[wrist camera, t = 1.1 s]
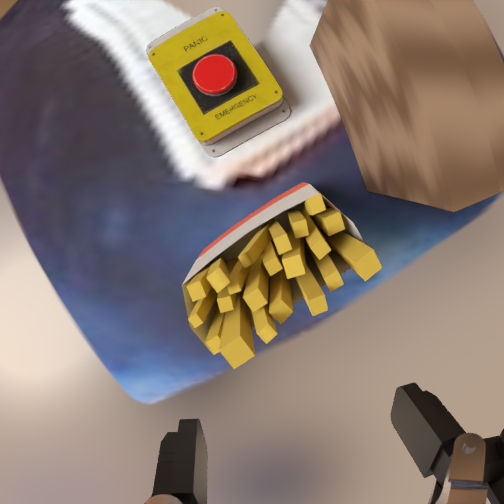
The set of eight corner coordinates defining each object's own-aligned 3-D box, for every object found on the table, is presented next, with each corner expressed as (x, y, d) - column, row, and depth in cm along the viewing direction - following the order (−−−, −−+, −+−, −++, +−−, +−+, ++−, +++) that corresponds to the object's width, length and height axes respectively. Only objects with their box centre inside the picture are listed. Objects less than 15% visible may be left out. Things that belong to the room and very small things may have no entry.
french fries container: (206, 239, 32) (146, 317, 15) (297, 177, 30) (344, 186, 13) (232, 276, 33) (204, 384, 16) (322, 216, 31) (393, 272, 14)
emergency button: (203, 160, 27) (129, 35, 24) (211, 161, 31) (144, 49, 28) (299, 107, 25) (215, -13, 22) (294, 116, 29) (220, 6, 26)
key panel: (309, 45, 27) (345, -43, 11) (376, 31, 26) (445, -43, 11) (367, 191, 30) (454, 212, 15) (430, 169, 30) (535, 176, 14)
